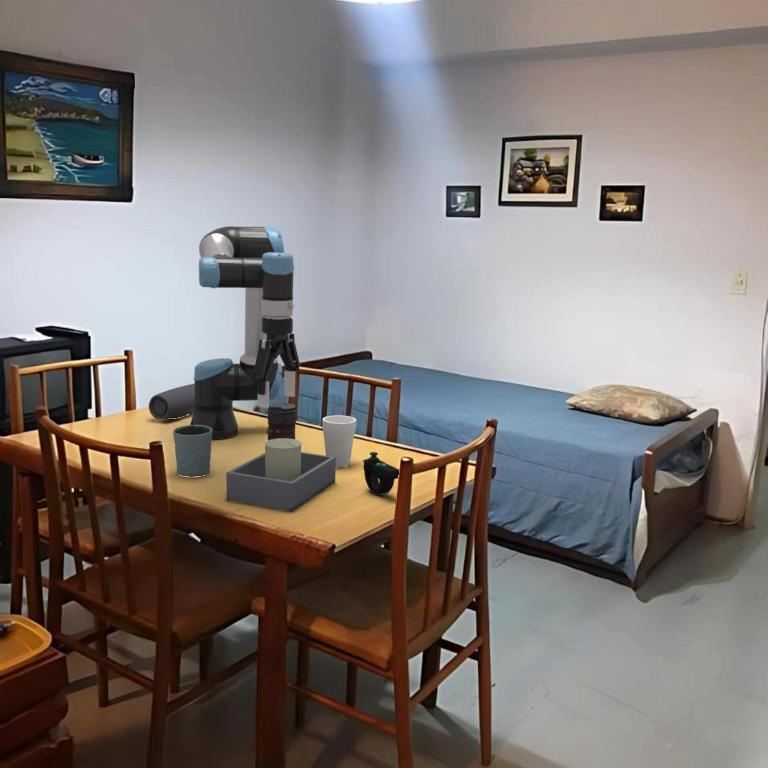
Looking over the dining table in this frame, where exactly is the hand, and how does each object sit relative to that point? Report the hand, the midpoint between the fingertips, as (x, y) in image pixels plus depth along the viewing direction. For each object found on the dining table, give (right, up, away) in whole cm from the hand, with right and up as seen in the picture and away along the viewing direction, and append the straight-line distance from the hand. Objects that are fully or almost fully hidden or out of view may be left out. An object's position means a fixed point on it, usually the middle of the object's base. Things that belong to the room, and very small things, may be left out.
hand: (276, 401), depth 204 cm
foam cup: (+14, -18, +26) cm, 35 cm away
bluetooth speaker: (-42, -7, +74) cm, 85 cm away
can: (+1, -22, +3) cm, 22 cm away
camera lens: (-3, -16, +33) cm, 37 cm away
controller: (+26, -24, +3) cm, 35 cm away
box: (+1, -23, +3) cm, 23 cm away
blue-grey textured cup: (-24, -20, +14) cm, 34 cm away
